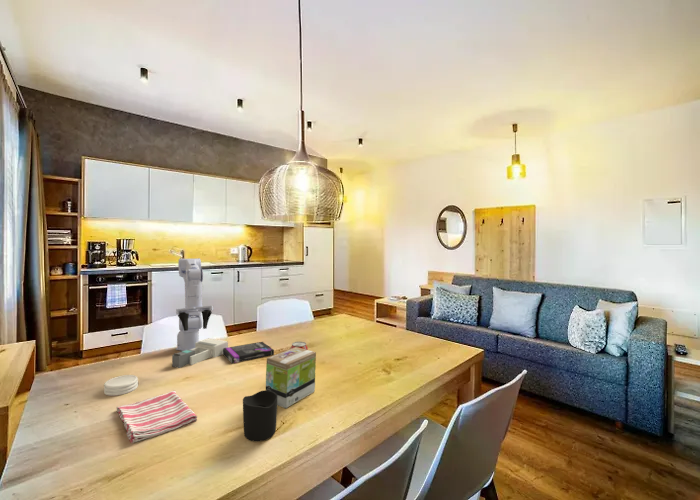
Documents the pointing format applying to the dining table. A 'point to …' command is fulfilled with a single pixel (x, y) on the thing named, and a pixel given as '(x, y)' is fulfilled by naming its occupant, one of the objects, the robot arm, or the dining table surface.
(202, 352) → the stand
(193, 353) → the grey tapered block
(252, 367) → the dining table surface
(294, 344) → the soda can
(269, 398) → the pen holder
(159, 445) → the dining table surface
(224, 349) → the box
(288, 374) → the tea box
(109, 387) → the coaster
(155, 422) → the dish towel
